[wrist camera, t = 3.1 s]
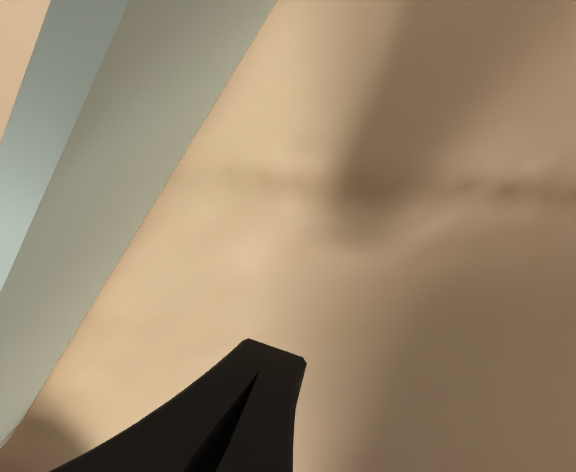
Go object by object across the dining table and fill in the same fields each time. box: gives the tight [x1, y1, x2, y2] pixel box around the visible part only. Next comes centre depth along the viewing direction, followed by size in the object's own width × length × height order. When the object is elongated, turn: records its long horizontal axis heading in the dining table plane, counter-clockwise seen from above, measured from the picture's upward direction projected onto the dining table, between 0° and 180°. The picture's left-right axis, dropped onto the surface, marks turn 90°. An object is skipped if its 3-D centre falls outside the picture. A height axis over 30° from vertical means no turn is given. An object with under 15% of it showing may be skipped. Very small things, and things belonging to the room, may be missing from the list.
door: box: [0, 0, 277, 448], centre depth 13 cm, size 19×1×5 cm, turn 145°
